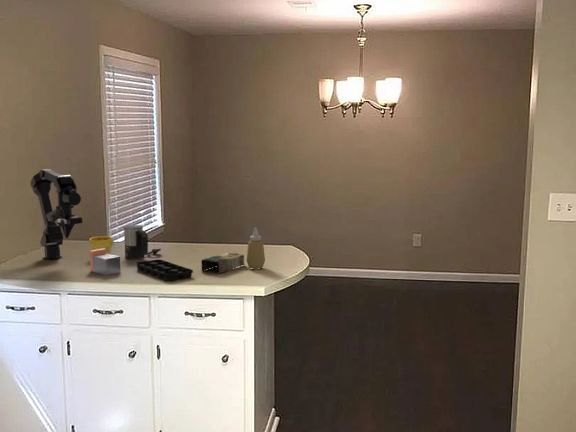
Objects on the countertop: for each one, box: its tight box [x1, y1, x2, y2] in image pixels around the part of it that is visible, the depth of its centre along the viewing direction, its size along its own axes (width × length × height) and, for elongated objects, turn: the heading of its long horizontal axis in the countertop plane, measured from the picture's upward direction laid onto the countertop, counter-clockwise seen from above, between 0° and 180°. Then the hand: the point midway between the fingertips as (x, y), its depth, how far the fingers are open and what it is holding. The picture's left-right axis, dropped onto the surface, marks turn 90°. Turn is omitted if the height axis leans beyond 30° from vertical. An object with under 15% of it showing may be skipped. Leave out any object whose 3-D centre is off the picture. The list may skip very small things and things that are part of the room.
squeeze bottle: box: [246, 227, 266, 269], centre depth 294 cm, size 8×8×18 cm
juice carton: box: [200, 252, 245, 274], centre depth 296 cm, size 20×10×6 cm, turn 148°
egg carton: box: [135, 259, 194, 283], centre depth 287 cm, size 18×30×4 cm, turn 52°
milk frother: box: [123, 224, 162, 260], centre depth 321 cm, size 14×16×15 cm
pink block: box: [89, 248, 106, 272], centre depth 290 cm, size 10×7×9 cm, turn 49°
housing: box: [92, 253, 122, 276], centre depth 289 cm, size 10×7×7 cm
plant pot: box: [89, 235, 114, 254], centre depth 316 cm, size 10×10×10 cm
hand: (66, 237), depth 305 cm, fingers closed
